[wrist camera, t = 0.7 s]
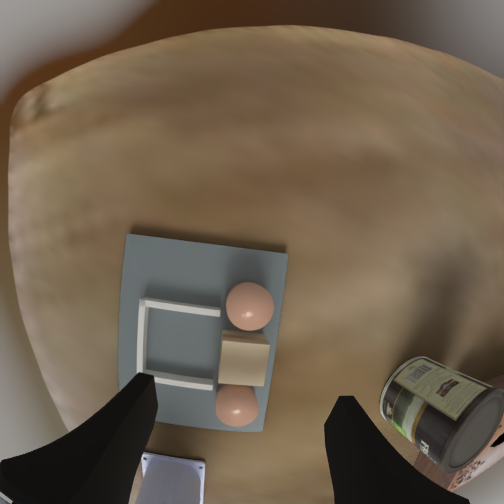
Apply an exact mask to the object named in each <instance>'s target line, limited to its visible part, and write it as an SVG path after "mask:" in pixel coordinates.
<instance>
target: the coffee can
mask: <svg viewBox="0 0 504 504" xmlns="http://www.w3.org/2000/svg"><path fill="white" fill-rule="evenodd" d="M380 412H381V415H382V416H383V418H384V419H385V420H386V421H388V422H389V423H391V424H392V425H393V426H394V427H395V428H396V429H397V430H399V431H400V432H401V433H402V434H403V435H404V436H405V437H406V438H408V439H409V440H410V441H411V442H412V443H413V444H414V445H415V446H416V447H417V448H419V449H420V450H421V451H422V452H423V453H424V454H425V455H427V456H428V457H429V458H430V459H431V460H432V461H434V462H435V463H436V464H437V465H438V466H439V467H440V468H441V470H442V471H443V472H444V473H447V474H452V473H455V472H458V471H460V470H461V469H463V468H464V467H466V466H467V465H469V464H470V463H471V462H472V461H473V460H474V459H475V458H476V457H477V456H478V455H479V454H480V453H481V452H482V451H483V450H484V448H485V447H486V446H487V445H488V443H489V442H490V440H491V439H492V437H493V436H494V434H495V432H496V431H497V429H498V427H499V425H500V423H501V420H502V418H503V415H504V389H502V388H499V387H493V386H491V385H488V384H486V383H484V382H481V381H479V380H477V379H474V378H472V377H470V376H468V375H465V374H463V373H461V372H458V371H456V370H454V369H451V368H449V367H447V366H445V365H442V364H440V363H438V362H436V361H433V360H432V359H430V358H428V357H425V356H419V357H415V358H412V359H410V360H408V361H406V362H405V363H403V364H402V365H401V366H400V367H399V368H398V369H397V370H396V371H395V372H394V373H393V374H392V375H391V377H390V378H389V380H388V381H387V383H386V385H385V387H384V389H383V391H382V394H381V398H380Z"/></svg>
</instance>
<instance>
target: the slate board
mask: <svg viewBox="0 0 504 504" xmlns="http://www.w3.org/2000/svg"><path fill="white" fill-rule="evenodd" d="M288 255H289V254H286V253H278V252H270V251H262V250H254V249H246V248H238V247H230V246H223V245H215V244H207V243H199V242H191V241H183V240H175V239H167V238H159V237H151V236H143V235H135V234H127V237H126V244H125V252H124V261H123V271H122V282H121V295H120V311H119V340H118V368H119V392H120V391H121V390H122V389H123V388H124V387H125V386H126V385H127V384H128V382H129V381H130V380H131V379H132V378H133V377H134V376H135V375H136V374H137V334H138V314H139V300H140V299H141V298H143V297H147V298H154V299H160V300H167V301H174V302H181V303H188V304H195V305H203V306H211V307H219V308H221V311H220V317H217V316H208V315H200V314H193V313H186V312H178V311H172V310H165V309H158V308H152V307H149V311H148V327H147V349H146V369H147V370H153V371H158V372H164V373H170V374H177V375H183V376H190V377H198V378H206V379H213V389H212V391H211V390H203V389H195V388H187V387H180V386H174V385H167V384H162V383H156V382H155V387H156V394H157V401H158V411H157V415H156V419H155V421H157V422H163V423H169V424H175V425H181V426H189V427H196V428H205V429H215V430H227V431H243V432H262V430H263V424H264V419H265V413H266V407H267V402H268V396H269V390H270V384H271V377H272V371H273V365H274V358H275V352H276V345H277V338H278V331H279V324H280V317H281V310H282V303H283V295H284V287H285V279H286V271H287V263H288ZM241 281H253V282H255V283H257V284H259V285H260V286H262V287H263V288H265V289H266V290H267V291H268V292H269V293H270V295H271V297H272V299H273V302H274V312H273V315H272V317H271V319H270V321H269V322H268V323H267V324H266V325H265V326H263V327H262V328H260V329H257V330H253V331H247V330H242V329H240V328H238V327H236V326H235V325H234V324H233V323H232V322H231V321H230V319H229V317H228V315H227V309H226V296H227V293H228V291H229V289H230V288H231V287H232V286H233V285H234V284H236V283H238V282H241ZM222 329H226V330H235V331H245V332H256V333H263V334H264V335H265V337H266V339H267V341H268V342H269V344H270V348H269V355H268V362H267V368H266V375H265V381H264V386H253V388H254V391H255V395H256V399H257V402H258V406H259V412H258V415H257V417H256V418H255V419H254V420H253V421H252V422H251V423H249V424H247V425H244V426H239V427H234V426H229V425H227V424H225V423H223V422H222V421H220V419H219V418H218V417H217V415H216V389H217V387H218V385H219V384H220V383H218V366H219V356H220V347H221V337H222Z"/></svg>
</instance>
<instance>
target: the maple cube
mask: <svg viewBox="0 0 504 504" xmlns="http://www.w3.org/2000/svg"><path fill="white" fill-rule="evenodd" d="M269 348H270V344H269V342H268V341H267V339H266V337H265V335H264V334H263V333H256V332H245V331H235V330H226V329H222V337H221V347H220V356H219V366H218V383H223V384H234V385H248V386H264V381H265V375H266V368H267V362H268V355H269Z"/></svg>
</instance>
